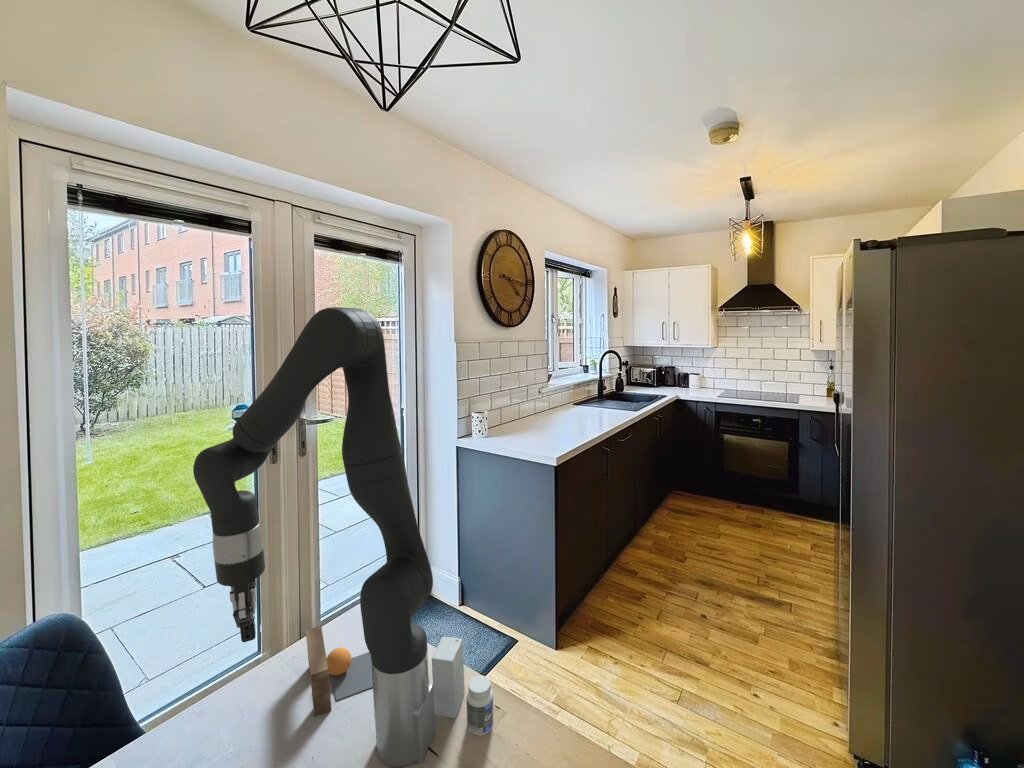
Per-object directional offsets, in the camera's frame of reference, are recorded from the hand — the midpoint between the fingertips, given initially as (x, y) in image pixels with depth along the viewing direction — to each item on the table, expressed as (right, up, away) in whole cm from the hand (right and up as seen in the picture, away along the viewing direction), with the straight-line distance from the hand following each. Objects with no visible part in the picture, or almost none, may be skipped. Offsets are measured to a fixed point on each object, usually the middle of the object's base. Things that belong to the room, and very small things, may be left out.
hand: (248, 638), depth 84 cm
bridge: (+10, -14, +7) cm, 19 cm away
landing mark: (+17, -13, +11) cm, 24 cm away
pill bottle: (+43, -15, -1) cm, 45 cm away
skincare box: (+36, -15, +3) cm, 39 cm away
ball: (+12, -11, +11) cm, 20 cm away
